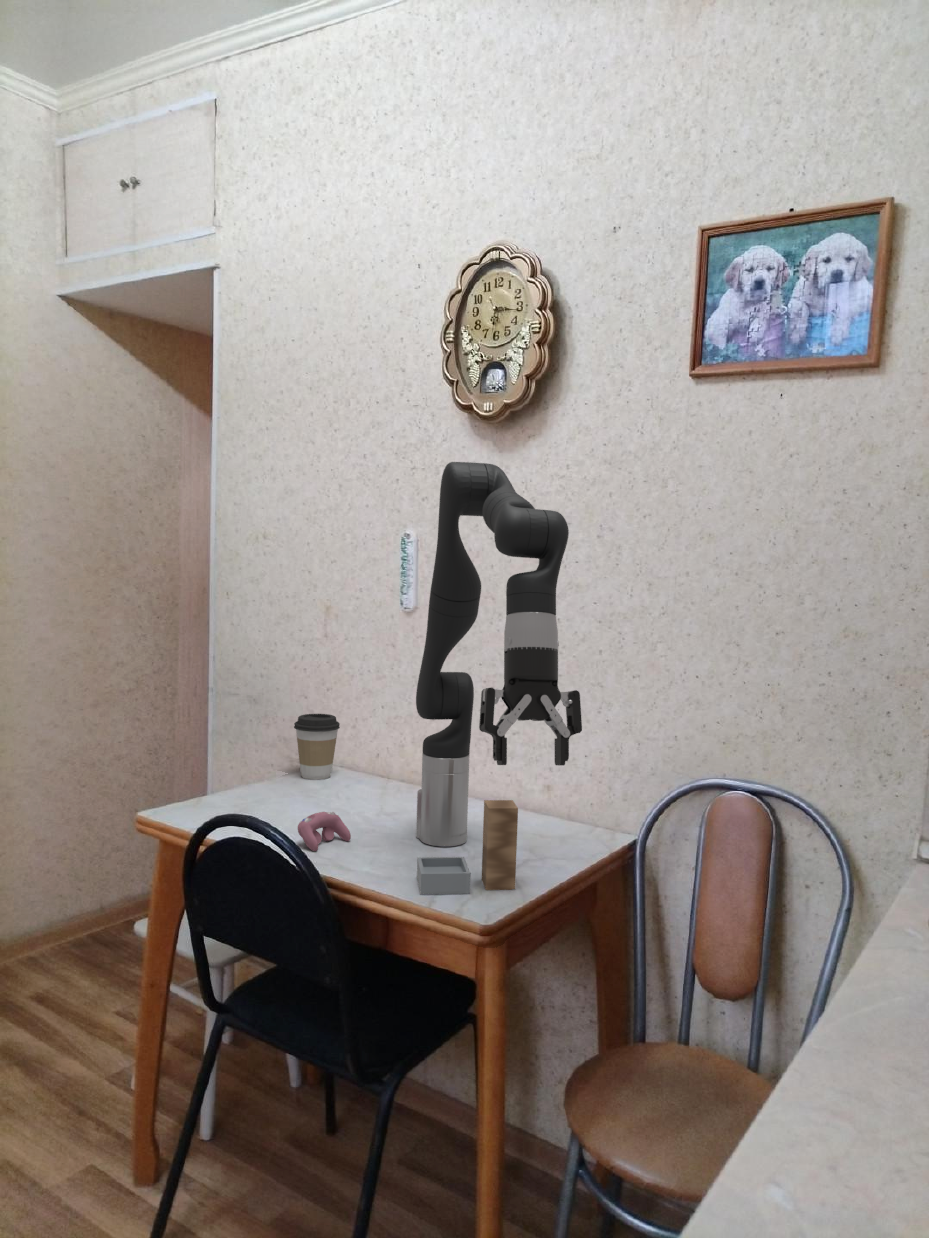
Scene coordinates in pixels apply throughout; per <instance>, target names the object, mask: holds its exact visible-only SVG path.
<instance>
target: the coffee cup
mask: <svg viewBox="0 0 929 1238" xmlns="http://www.w3.org/2000/svg"><path fill="white" fill-rule="evenodd" d="M340 724H341V723H340V722H339V721H337V717H336V716H335V715H334V714H327V713H306V714H301V715H299V716H298V717H297V721H294V726H293V728H294V730H295V732H296V743H297V749H298V750H297V751H298V761H299V770H300V774H301V778H303V779H304V780H310V781H311V780H312V781H321V779H322V780H327V779H329V778H330V777H331V774H332V771H333V765H334V764H333V763H334V757H335V751H336V743H337V737H338V730H339V729H340V727H341V726H340Z"/></svg>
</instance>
